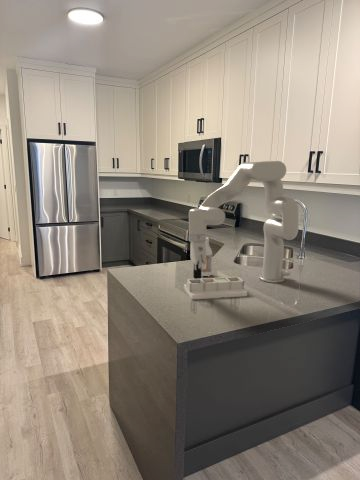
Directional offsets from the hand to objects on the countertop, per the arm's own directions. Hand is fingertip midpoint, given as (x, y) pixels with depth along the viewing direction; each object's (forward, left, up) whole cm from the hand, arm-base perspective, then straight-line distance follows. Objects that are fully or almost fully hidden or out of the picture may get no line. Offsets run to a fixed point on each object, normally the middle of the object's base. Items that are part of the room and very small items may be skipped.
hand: (197, 278), depth 144 cm
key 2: (-11, 0, -4) cm, 12 cm away
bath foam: (-11, -25, -7) cm, 29 cm away
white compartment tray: (-8, 0, -7) cm, 11 cm away
